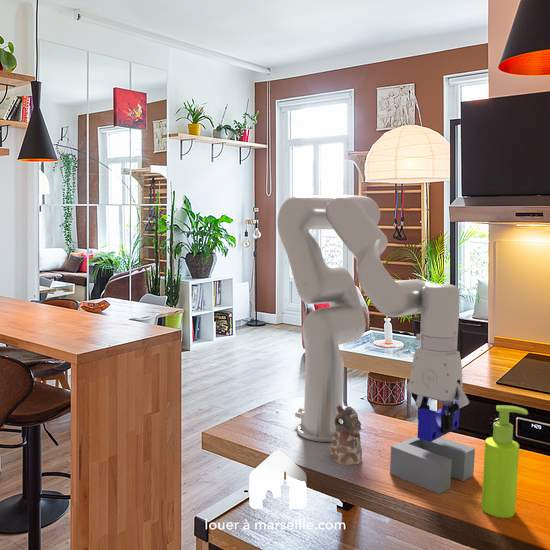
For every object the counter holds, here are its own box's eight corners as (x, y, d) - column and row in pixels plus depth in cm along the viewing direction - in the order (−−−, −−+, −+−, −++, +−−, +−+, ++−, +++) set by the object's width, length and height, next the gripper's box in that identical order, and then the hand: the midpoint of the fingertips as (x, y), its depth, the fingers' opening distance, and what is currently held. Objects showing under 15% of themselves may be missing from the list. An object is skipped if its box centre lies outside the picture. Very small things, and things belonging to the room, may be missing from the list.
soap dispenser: (522, 521, 106) (530, 414, 104) (482, 515, 108) (489, 409, 105) (518, 505, 111) (525, 404, 109) (480, 500, 113) (486, 400, 111)
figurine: (352, 468, 126) (353, 414, 125) (324, 459, 131) (325, 407, 129) (367, 457, 132) (369, 406, 131) (340, 449, 136) (342, 399, 135)
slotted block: (389, 473, 124) (391, 446, 124) (424, 457, 133) (426, 432, 132) (439, 494, 115) (440, 465, 115) (473, 475, 124) (474, 448, 123)
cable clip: (439, 422, 129) (440, 395, 128) (458, 427, 126) (459, 400, 125) (411, 435, 120) (412, 407, 120) (430, 442, 117) (431, 412, 117)
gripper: (394, 338, 125) (390, 421, 127) (466, 353, 112) (461, 444, 114) (414, 334, 130) (411, 414, 132) (485, 348, 117) (481, 435, 119)
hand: (434, 427), depth 123 cm, fingers closed on cable clip, 4 cm apart
